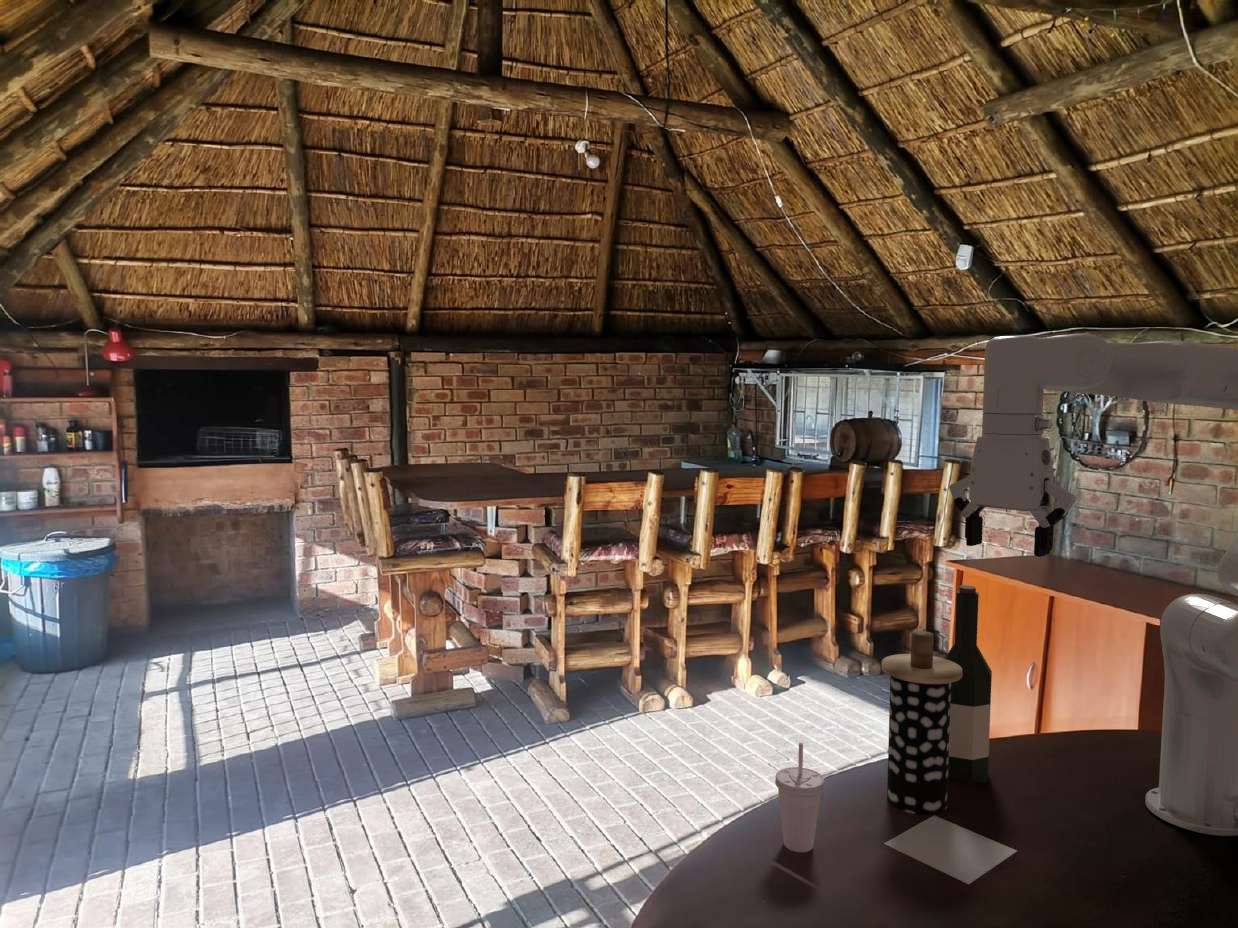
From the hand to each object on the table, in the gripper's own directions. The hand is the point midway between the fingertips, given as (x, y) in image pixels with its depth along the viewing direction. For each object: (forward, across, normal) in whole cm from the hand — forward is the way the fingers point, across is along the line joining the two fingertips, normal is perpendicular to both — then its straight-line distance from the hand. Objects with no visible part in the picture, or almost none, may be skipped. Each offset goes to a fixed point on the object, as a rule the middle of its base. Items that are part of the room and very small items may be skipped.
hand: (1006, 549), depth 120 cm
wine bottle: (+38, +10, -8) cm, 41 cm away
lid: (+18, +9, +6) cm, 21 cm away
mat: (+38, -1, +14) cm, 41 cm away
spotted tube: (+38, +9, +6) cm, 40 cm away
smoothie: (+38, +12, +29) cm, 50 cm away
